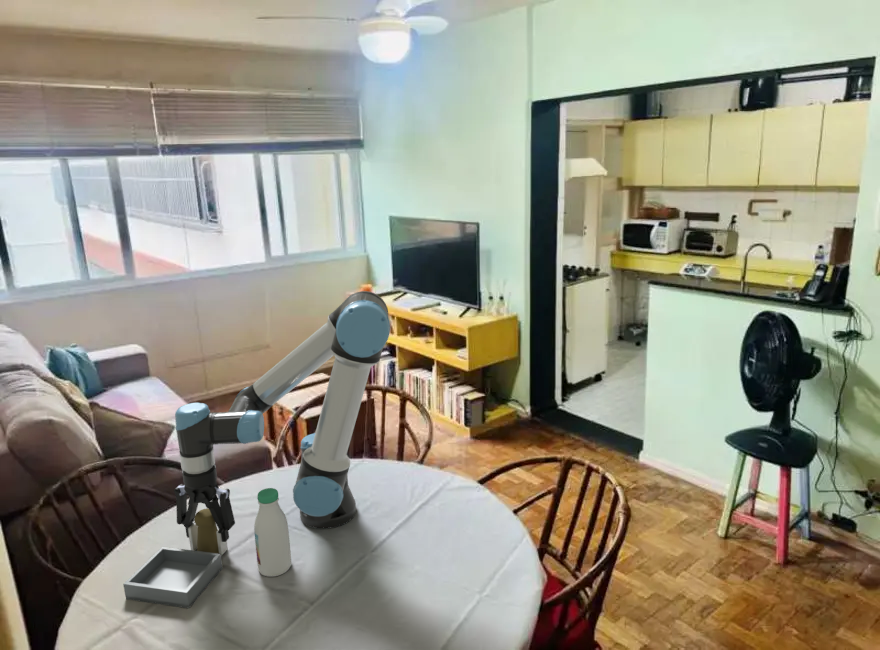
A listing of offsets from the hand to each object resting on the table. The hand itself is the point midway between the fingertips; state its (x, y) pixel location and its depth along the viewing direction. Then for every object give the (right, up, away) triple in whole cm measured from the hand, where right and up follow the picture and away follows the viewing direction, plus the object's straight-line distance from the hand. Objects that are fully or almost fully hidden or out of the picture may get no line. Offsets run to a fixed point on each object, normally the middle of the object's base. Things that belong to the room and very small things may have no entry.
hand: (209, 549), depth 152 cm
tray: (-3, -3, -12) cm, 13 cm away
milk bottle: (+18, -2, -6) cm, 19 cm away
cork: (0, 0, 0) cm, 0 cm away
